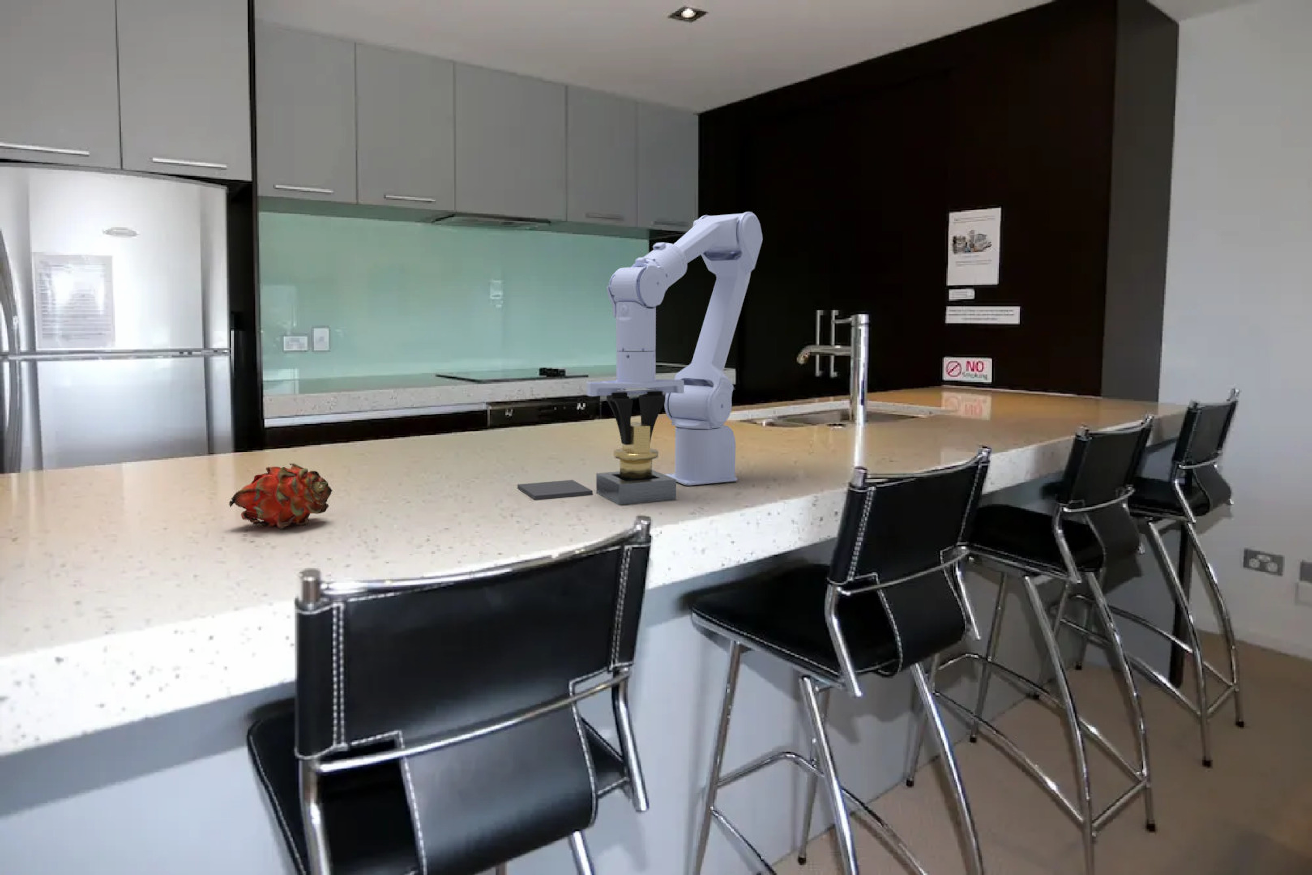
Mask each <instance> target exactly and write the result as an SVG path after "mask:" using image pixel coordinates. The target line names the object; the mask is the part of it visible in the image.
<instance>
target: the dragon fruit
mask: <svg viewBox="0 0 1312 875" xmlns="http://www.w3.org/2000/svg"><path fill="white" fill-rule="evenodd" d="M289 465H290V466H291V467H290V468H288V467H285V466H283V467H282V466H281V467H280V466H267V467H265V471H267V472H265V473H259V474H256V475H254V477H253V480H252V481H251V483H250V484H247V485H244V486H243V487H242V488H241V489H240V490H238V491H236V492H235V493H234V494H233V496H232V497H231V498H230V500H229V502H228V505H229V507H230V508H232V507H233V505H234V504H235V505H236V506H237V507H239V508H242V509H244V511H242V512H241V514H240V517H241V519H242V520H244V521H248V522H250V523H252V524H253V525H262V526H266V527H273V526H277V528H278V529H280V530H283V529H285V527H287V526H290V525H291V523H292V522H293V524H295V525H298V526H302V525H307V524H309V523H308V522H309V521H310V518H309V517H310V515H311V514H317V515H319V514H324V513H325V512H326V511H327V510H328V508H329V507H330V506H329V503H327V502H328V500H329V498H330V497H331V495H332V492H333V489H332V488H331V487H330V486H329V481H327V480H326V479H325V478H323V477H322V476H321V475H320V473H319V472H318V471H317V470H310V471H309V470H308V468H304V467H302V466H300V465H299V464H297V463H295V462H293V463H289Z"/></svg>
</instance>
